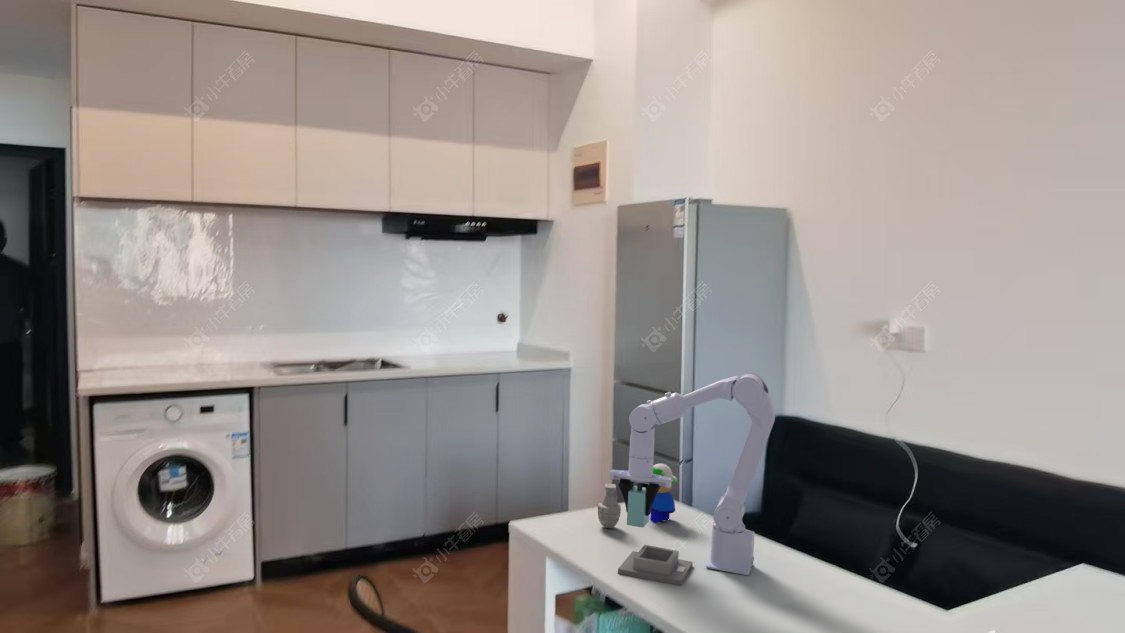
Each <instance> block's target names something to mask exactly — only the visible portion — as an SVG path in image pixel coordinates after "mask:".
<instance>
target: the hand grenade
mask: <svg viewBox="0 0 1125 633" xmlns="http://www.w3.org/2000/svg"><path fill="white" fill-rule="evenodd" d="M604 488H605V495H604V497H603V499H602V501H601V502H598V504H597V516H598V521H599V523H600V525H601V526H602V527H604V528H606V529H612V528H614V527H615V526H617V524H618V522H619V520H620V518H621V512H622V509H621V508H622V506H621V504H620V503H618V500H619V499H618V493H617V485H616V483H605V484H604Z"/></svg>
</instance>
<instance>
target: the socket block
mask: <svg viewBox="0 0 1125 633" xmlns="http://www.w3.org/2000/svg"><path fill="white" fill-rule="evenodd" d="M679 554H680V551H679V550H675V549H670V548H664V547H658V546H655V545H648V544H644V545H642V547H641V548H640V549H639V551H636V550H633V551H631V553H630V554H629V555H628V556H627V558H626V559H625V560H624V561H623V562H622V564H620V566H619V567H617V568H618V569H617V574H620V575H626V576H630V577H634V578H635V577H636V578H639V579H640V578H641V579H645V580H650V579H651V581H655V582H656V581H657V582H661V583H664V584H665V583H667V584H672V585H676V586H682V585H683V583H684V581H685V580H686V578H687V576H688V575H689V573H690V571H691V569H692V567H693V563H694V562H693V561H691V560H690V561H689V560H685V559H680V558H679Z"/></svg>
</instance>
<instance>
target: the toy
mask: <svg viewBox="0 0 1125 633" xmlns="http://www.w3.org/2000/svg"><path fill="white" fill-rule="evenodd" d="M653 474H656V475H660V476H664V477H669V478H672V482H671V487H670V488H666V487H665V486H661V487H660V489H659V491H658V493H657V495H656V497H655V499H654V502H653V504H652V508H651V513H650V515H649V520H650V522H653V523H656V522H661V523H663V522H664V521H663V520H668V519H669V520H670V514H674V513H675V512H676V507H675V506H676V504H675V499H674V497H673V495H672V493H671V492H670V491H671V490H672V488H673V484H675V483H677V482H678V478H677V477H676V476H675V475H674V473H673V471H672V469H671V468H670V466H668V464H665V463H656V464H653ZM642 484H643V485H642V487H644V488H646V487H647V486H648V485H649V484H645V483H642ZM669 520H668V521H669ZM662 521H663V522H662Z"/></svg>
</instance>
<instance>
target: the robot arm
mask: <svg viewBox="0 0 1125 633" xmlns="http://www.w3.org/2000/svg"><path fill="white" fill-rule="evenodd" d="M738 377H739V378H738ZM717 399H722V400H726V401H732V400H733V399H734V400H735V401H736V402H737V403H738V404H739V405H740V406H741V407H742V408H744V409H745V411H746V413H747V414H748V417H749V418H750V419H751V423H750V427H749V430H748V432H747V435H746V438H745V440H744V443H743V446H742V448H741V451H740V455H739V457H738V458H737V459H738V460H737V463H736V465H735V467H734V470H733V473H732V476H731V479H730V481H729V483H728V486H727V488H726V492H725V493H724V494H723V495H722V496H720V498H719V500H718V502H717V506H716V508H715V509H714V511H713V515H712V516H713V522H712V529H711V530H712V531H711V532H712V533H711V545H710V546H711V548H710V558H709V559H708V561H707V563H706V565H705V567H706V568H707V569H711V570H712V569H713V570H718V571H723V572H727V573H732V574H733V573H734V574H737V575H743V576H750V573H751V570H752V567H753V566H754V561H755V558H754V550H755V531H753V530H749V529H747V528H746V525H745V524H744V522H743V517H744V516H745V513H746V509H747V508H746V507H747V506H746V498H747V496H748V493H749V490H750V488H751V485H752V482H753V480H754V477H755V474H756V471H757V469H758V466H759V464H760V460H761V458H762V456H763V452H764V451H765V447H766V444H767V443H768V440H769V438H770V434H771V431H772V429H773V426H774V423H775V420H776V414H775V410H774V408H773V407H774V406H773V404H772V398H771V395H770V390H769V386H767V384H766V382H765V381H764V379H763V378H762V377H761V376H760V375H759V374H757V373H755V372H745V373H743V374H742V375H740V376H739V375H735V376H731V377H727V378H723V379H720V380H718V381H716V382H713V383H710V384H708V385H706V386H704V387H700V388H698V389H696V390H694V391H692V392H689V393H687V394H684V395H683V394H681V393H678V392H673V393H672V392H671V391H668V392H666V393H664V396H663V397H660V398H657V399H654V400H651V399H650V400H647V401H646V402H645V403H642V404H640V405H638V406H636V407H635V408H633V409H632V411H631V412H630V414H629V418H628V422H629V424H630V426H631V429H630V437H629V451H628V452H629V455H628V457H629V458H628V470H625V469H624V470H622V469H620V470H619V469H611V470H610V471H609V477H608V478H609V480H619V482H618V488H619V491H620V492H621V494H622V496H623V497H622V498H623V499H624V500H623V501H624V504H625V512H626V513H627V509H628V491H629V490H630V489H632V488H633V487H634V486H635V484H634V483H645V484H649V485H648V486H647V487H646V510H645V515H646V516H649V517H650V515H651V508H652V504H653V502H654V499H655V497H656V495H657V493H658V491H659V489H660V487H661V486H665V487H666V488H670V487H671V482H672V478H669V477H664V476H660V475H656V474H653V466H654V458H655V456H654V455H655V441H656V439H655V425H664V424H666V423H669V422H671V421H674V420H677V419H679V418H683V417H685V416H686V414H687V412H688V411H689V409H690V408H693V407H696V406H699V405H702V404H706V403H708V402H712V401H714V400H717Z"/></svg>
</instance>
